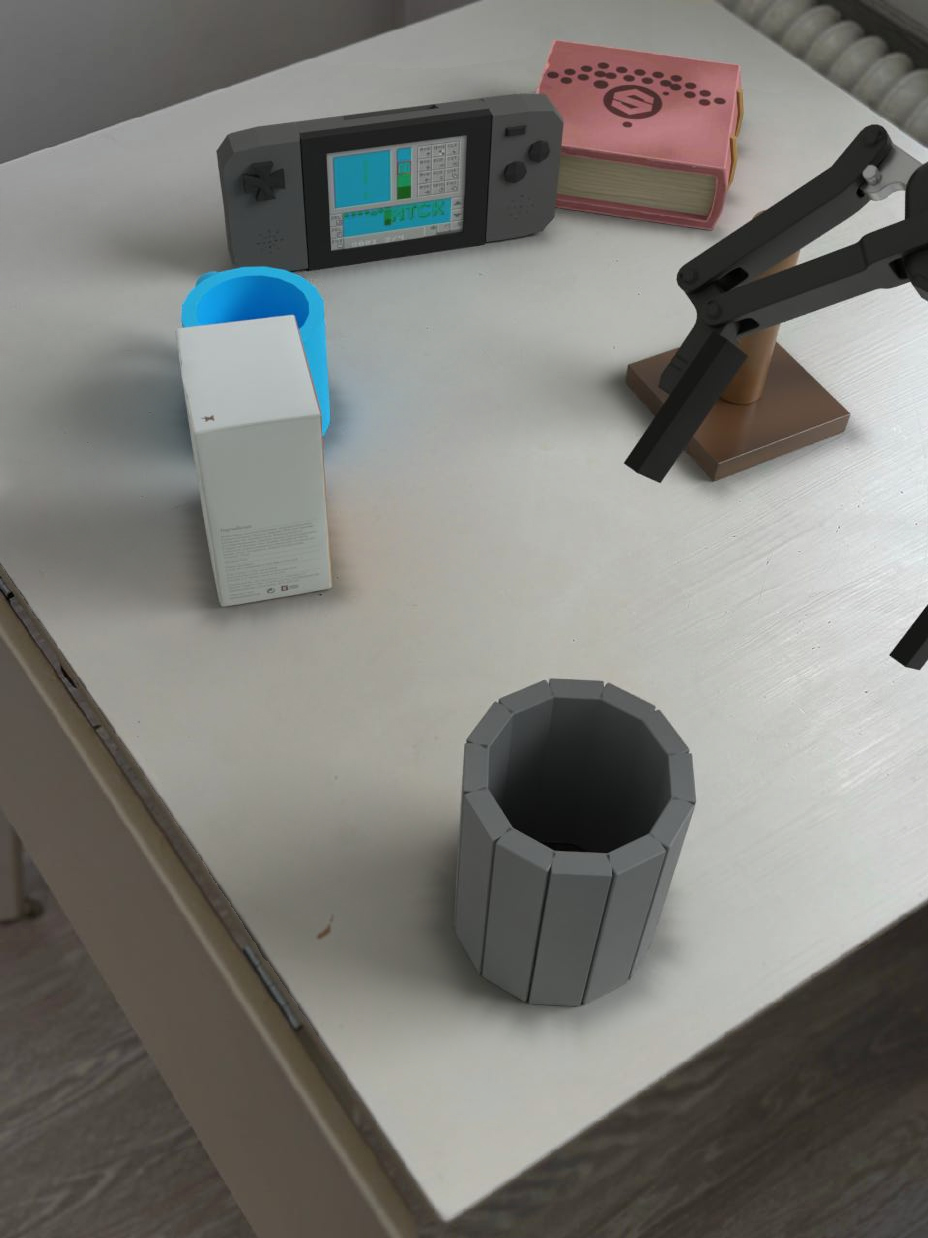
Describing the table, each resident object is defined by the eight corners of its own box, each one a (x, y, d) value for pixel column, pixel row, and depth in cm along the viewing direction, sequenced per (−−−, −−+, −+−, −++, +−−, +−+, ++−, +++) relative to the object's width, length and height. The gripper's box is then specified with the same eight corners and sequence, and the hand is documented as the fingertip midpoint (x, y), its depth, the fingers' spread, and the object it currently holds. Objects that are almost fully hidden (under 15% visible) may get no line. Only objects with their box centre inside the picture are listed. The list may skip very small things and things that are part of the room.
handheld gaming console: (236, 285, 92) (220, 153, 84) (229, 261, 94) (213, 129, 86) (555, 236, 97) (568, 107, 89) (543, 214, 98) (555, 85, 90)
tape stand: (845, 431, 85) (907, 249, 74) (713, 481, 82) (759, 299, 71) (751, 338, 90) (796, 156, 80) (624, 382, 87) (654, 198, 77)
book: (724, 231, 98) (737, 170, 94) (516, 201, 99) (520, 139, 95) (739, 126, 107) (751, 66, 103) (547, 99, 108) (553, 39, 104)
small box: (334, 591, 75) (323, 414, 65) (219, 610, 74) (190, 433, 64) (309, 488, 80) (295, 310, 70) (201, 505, 79) (171, 326, 69)
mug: (354, 433, 83) (350, 326, 77) (234, 481, 80) (219, 374, 74) (265, 324, 89) (254, 217, 83) (150, 365, 86) (130, 258, 80)
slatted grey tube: (690, 951, 62) (740, 815, 53) (516, 1040, 59) (537, 913, 50) (586, 797, 67) (615, 648, 58) (420, 873, 64) (423, 729, 55)
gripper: (1429, 282, 48) (1045, 754, 53) (856, 10, 59) (583, 422, 64) (1459, 210, 41) (1018, 756, 46) (809, -81, 52) (509, 386, 57)
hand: (765, 564), depth 55 cm, fingers open, 13 cm apart
